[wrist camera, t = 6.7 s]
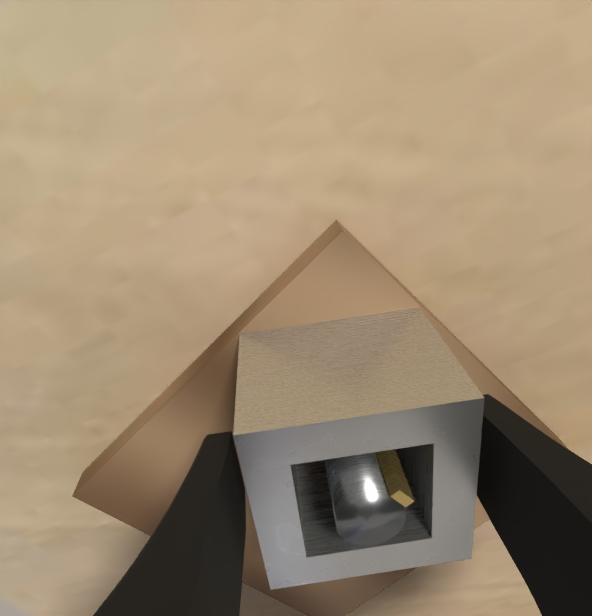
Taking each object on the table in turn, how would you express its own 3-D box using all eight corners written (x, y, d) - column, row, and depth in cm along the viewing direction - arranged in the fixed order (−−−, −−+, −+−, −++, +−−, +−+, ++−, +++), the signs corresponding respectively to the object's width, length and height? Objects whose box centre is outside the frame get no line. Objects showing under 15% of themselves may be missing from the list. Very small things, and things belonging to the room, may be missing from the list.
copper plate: (325, 601, 20) (329, 625, 19) (82, 472, 16) (72, 496, 15) (560, 440, 17) (577, 460, 16) (336, 219, 12) (343, 230, 11)
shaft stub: (336, 419, 14) (368, 554, 10) (302, 393, 14) (321, 525, 10) (378, 384, 14) (429, 511, 10) (344, 356, 13) (383, 478, 9)
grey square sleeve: (419, 443, 15) (471, 558, 11) (266, 466, 15) (270, 589, 11) (419, 307, 13) (484, 397, 9) (239, 333, 13) (233, 435, 9)
